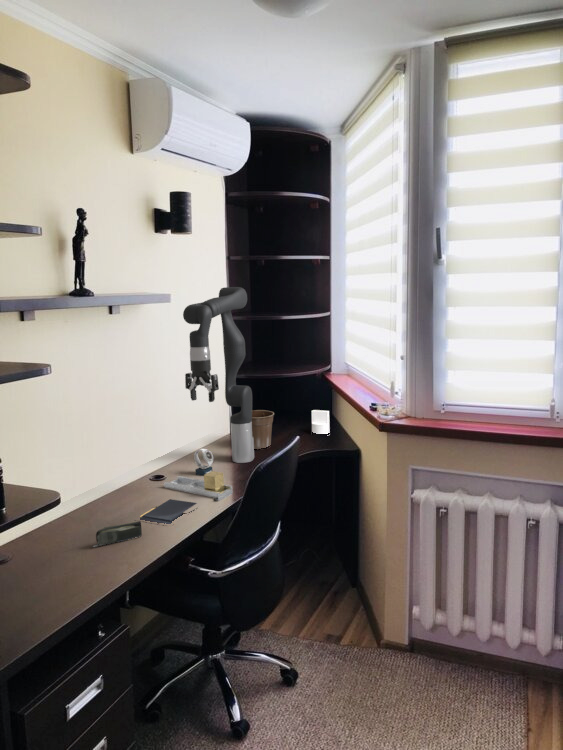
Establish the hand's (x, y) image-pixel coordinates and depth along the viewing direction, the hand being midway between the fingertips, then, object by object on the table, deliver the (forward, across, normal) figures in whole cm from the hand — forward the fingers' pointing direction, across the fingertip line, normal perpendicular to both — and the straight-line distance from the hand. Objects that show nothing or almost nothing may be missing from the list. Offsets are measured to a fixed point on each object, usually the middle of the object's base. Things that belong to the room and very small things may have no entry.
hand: (202, 400), depth 219 cm
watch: (+33, +8, -8) cm, 35 cm away
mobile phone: (+33, -8, +53) cm, 63 cm away
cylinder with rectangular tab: (+33, -4, -86) cm, 92 cm away
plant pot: (+33, +12, -53) cm, 64 cm away
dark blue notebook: (+34, -6, +28) cm, 44 cm away
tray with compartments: (+33, -2, +8) cm, 34 cm away
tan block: (+32, -10, +8) cm, 34 cm away
